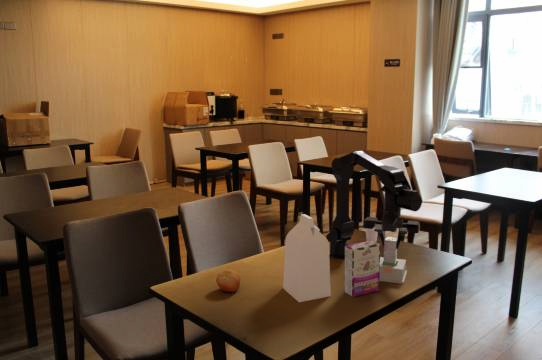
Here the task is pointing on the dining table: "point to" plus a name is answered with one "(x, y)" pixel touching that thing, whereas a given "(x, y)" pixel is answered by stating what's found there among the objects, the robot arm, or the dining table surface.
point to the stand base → (393, 271)
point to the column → (390, 251)
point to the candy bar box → (362, 268)
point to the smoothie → (371, 234)
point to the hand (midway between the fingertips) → (390, 248)
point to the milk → (306, 262)
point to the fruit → (228, 280)
